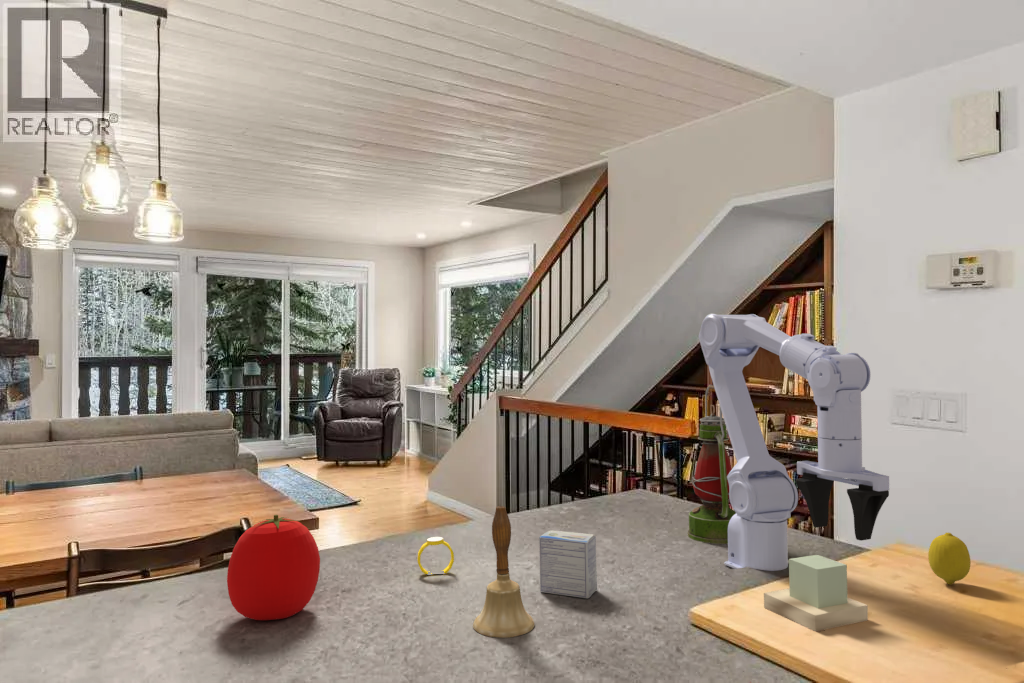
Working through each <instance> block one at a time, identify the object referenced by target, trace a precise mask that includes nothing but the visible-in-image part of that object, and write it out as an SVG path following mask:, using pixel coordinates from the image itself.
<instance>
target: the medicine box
mask: <svg viewBox="0 0 1024 683" xmlns="http://www.w3.org/2000/svg"><path fill="white" fill-rule="evenodd" d="M596 537H597V536H596V535H595V534H592V533H582V532H572V531H561V530H552V529H551V530H548V531H546V532H545V533H543V534H542V535H540V536H539V538H538V541H539V542H538V545H539V546H538V547H539V551H538V552H539V554H538V555H539V557H538V558H539V592H540V593H546V594H552V595H558V596H559V595H560V596H567V597H573V598H580V599H589V598H590V597H591V596H592V595H593V594H594V593H595V592H596V591H597V590H598V578H597V576H598V575H597V544H596V543H597V538H596Z"/></svg>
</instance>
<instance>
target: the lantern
mask: <svg viewBox="0 0 1024 683" xmlns="http://www.w3.org/2000/svg"><path fill="white" fill-rule="evenodd" d="M710 389H712V390H715V388H714V385H713V384H708V386H707V387H706V390H705V396H704V409H705V410H704V417H702V418H700V419H699V421H700V423H699V436H698V437H697V439H698V440H700V441H702V446H701V448H700V451H699V455H698V458H697V463H696V467H695V472H694V474H693V475H692V477H691V482H692V486H693V491H694V494H695V496H697V497H699V499H700V501H701V502H702V505H700V506H698V507H695V508H693V509H692V510H690V512H688V530H687V534H688V535H687V538H689V539H691V540H692V541H697V542H700V543H706V544H713V545H715V544H717V545H720V544H721V545H728V524H729V521H730V519H731V518H732V516H733V515H735V514H736V512H735V511H734V509H733V508H730V504H729V500H730V498H729V483H728V479H727V476H728V474H729V472H730V471H731V470H732V469H733V467H732V464H731V461H730V458H729V454H728V452H727V449H726V447H725V446H726V445H725V442H724V441H729V440H730V437H728V431H727V427H726V424H725V421H724V417H723V414H722V411H721V408H720V404H719V403H718V404H719V406H718V407H719V415H716V414H715V411H716V410H715V408H716V407H715V405H714V404H710V406H709V407H710V409H709V412H710V415H708V394H709V393H708V392H709V390H710ZM712 408H713V410H712Z"/></svg>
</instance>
